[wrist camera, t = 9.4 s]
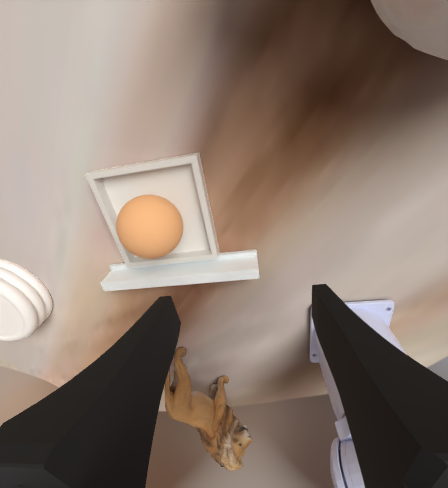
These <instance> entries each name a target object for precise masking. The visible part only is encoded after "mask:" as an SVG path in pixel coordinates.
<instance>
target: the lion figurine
mask: <svg viewBox="0 0 448 488" xmlns="http://www.w3.org/2000/svg"><path fill="white" fill-rule="evenodd" d="M185 355H186V349H185V348H182V347H181V348H179V349H177V351H176V352H175V361H174V365H175V367H176V370H175V371H174V381H173V383H172V385H171V387H170V368H169V371H168V375H167V378H166V381H165V407H166V410H167V412H168V414H169V415H170V417H171V418H172V419H173V420H177V421H182V422H185V423H187V424H189V425H191V426H193V427H195V428H196V429H197V430H198V432H199V433H200V436H201V440H202V443H203V444H204V446H205V448H206V450H207V451H208V452H210V453H211V456H212V458H213V459H215V460H216V462H218V463H219V464H220V465H221V467H225V468H226V469H227V470H232V471H234V470H237V469H239V468H241V466H243V462H242V461H243V456H244V453H245V449H246V447H247V446H248V445H249V444H250V443H251V442H252V438H251V435H250V434H249V433H248V428H247V426H246V425H242V426H241V423H240V422H239V420H238V419H237V418H236V417H235V416H234V415H233V410H232V408H230V407H229V406H227V405H226V397H225V390H224V383H228V381H229V379H228V377H227V376H221V377H220V378H219V379H218V385H216V384H212V385H211V386H210V391H209V396H207V395H205V394H204V393H202V392H199V391H191V381H190V377H189V374H188V372H187V368H186V367H185V366H184V364H183V362H182V359H181V356H185ZM217 390H218V392H217V395H216V397H215V394H216V391H217Z"/></svg>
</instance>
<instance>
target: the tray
mask: <svg viewBox="0 0 448 488" xmlns="http://www.w3.org/2000/svg"><path fill="white" fill-rule="evenodd" d="M85 175H86V178H87V180H88V182H89V184H90V186H91V189H92V191H93V193H94V195H95V198H96V200H97V202H98V204H99V206H100V209H101V211H102V213H103V215H104V217H105V220H106V222H107V224H108V226H109V229H110V231H111V233H112V235H113V237H114V240H115V242H116V244H117V246H118V248H119V251H120V253H121V255H122V257H123V260H124V262H125V264H126V266H127V268H129V267H139V266H149V265H159V264H170V263H180V262H190V261H200V260H210V259H218V257H219V252H220V251H219V246H218V241H217V236H216V231H215V227H214V222H213V217H212V212H211V207H210V202H209V197H208V192H207V187H206V182H205V178H204V173H203V168H202V163H201V158H200V153H199V152H198V153H192V154H186V155H180V156H175V157H169V158H163V159H157V160H151V161H145V162H139V163H134V164H128V165H122V166H116V167H110V168H104V169H98V170H94V171H91V172H88V173H85ZM141 195H157V196H160V197H163V198H165V199H167V200H169V201H170V202H171V203H172V204H173V205H174V206H175V207H176V208H177V209H178V211H179V213H180V215H181V217H182V220H183V234H182V238H181V240H180V242H179V244H178V245H177V247H176V248H175V249H174V250H173V251H172V252H170V253H169V254H167V255H165V256H163V257H160V258H155V259H146V258H141V257H138V256H135V255H133V254H132V253H130V252H129V251H128V250H127V249H125V247H124V246H123V245H122V244H121V242H120V240H119V238H118V235H117V231H116V221H117V217H118V214H119V212H120V210H121V209H122V207H123V206H124V205H125V204H126V203H127V202H128V201H130V200H131V199H133V198H135V197H138V196H141Z"/></svg>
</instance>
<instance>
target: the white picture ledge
mask: <svg viewBox="0 0 448 488" xmlns="http://www.w3.org/2000/svg"><path fill="white" fill-rule="evenodd" d="M109 267H110V269H111V271H110V272H109V274H108V275H107V276H106V277H105V278H104V279H103V281H102V282H101V283H100V284H101V286H102V288H103V290H104V291H115V290H127V289H139V288H151V287H163V286H175V285H187V284H199V283H211V282H223V281H235V280H247V279H259V268H258V259H257V250H256V249H254V250H244V251H235V252H225V253H219V257H218V259H210V260H200V261H190V262H180V263H170V264H159V265H149V266H139V267H129V268H127V266H126V264H125V263H118V264H111V265H110V266H109Z"/></svg>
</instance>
